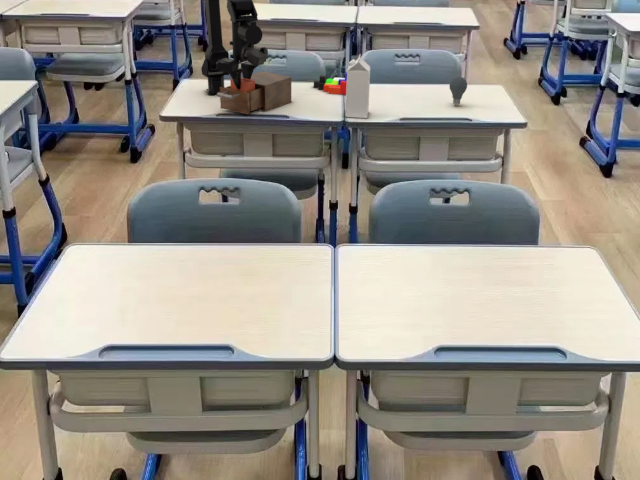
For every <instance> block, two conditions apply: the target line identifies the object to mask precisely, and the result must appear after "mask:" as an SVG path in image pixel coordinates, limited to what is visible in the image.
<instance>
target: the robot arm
mask: <svg viewBox="0 0 640 480" xmlns="http://www.w3.org/2000/svg"><path fill="white" fill-rule="evenodd" d="M204 3H205V5H204V6H205V15H206V27H207V28H206V29H207V39H208V45H207V48H206V51H205V53H204V60H203V63H202V65H201V67H200V69H201V74H202V75H203V76H204V77H205V78H207V88H206V93H207V95H208V96H210V95H212V96H214V95H216V96H217V93H218V92H219V93H220V87H225V76H229V77H231V78H230V79H232V80H233V82H234V84H235V86H236V88H237V89H240V86H241V77H243V78H246V79H251V76H252V74H254V71H255V69H257V68H258V67H259V66H264V65H265V63H267V60H268V59H269V50H268V48H267V47H265V46H262V47H260V48H256V47H255V45H258V44H260V43H261V41H262V39H263V31H262V29H261V27H260V26H258V25H257V22H258V20H259V18H258V11H257V9H256V6H255V4H254V1H253V0H226V10H227V12H228V14H229V17H230V19H229V20H230V22H231V38H232V39H231V40H229V45H230V46H232V53H231V54H230V53H229V51H228V50H227V49H226V48H225V47H224V44H223V32H222V30H223V29H222V19H221V5H220V0H204ZM229 54H230V55H229Z"/></svg>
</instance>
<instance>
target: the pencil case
mask: <svg viewBox="0 0 640 480" xmlns="http://www.w3.org/2000/svg"><path fill="white" fill-rule="evenodd" d="M242 77H243V76H241V86H240V89H237V88H236V86H235V84H234V82H233V80H232V78H230V81H229V82H230V86H231V89H234V90H239V91H244V92H249V91H252V90H255V80H251V79H246V78H242Z"/></svg>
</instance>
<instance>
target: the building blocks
mask: <svg viewBox="0 0 640 480" xmlns="http://www.w3.org/2000/svg"><path fill="white" fill-rule="evenodd" d="M313 88H315V89H318V90H319V91H323V93H328V94H331V95H343V96H344V95H345V96H346V88H347V71H346V72H345V73H344V77H335V76H334V78H327V75H323V74H321V75H319V80H314V81H313Z"/></svg>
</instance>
